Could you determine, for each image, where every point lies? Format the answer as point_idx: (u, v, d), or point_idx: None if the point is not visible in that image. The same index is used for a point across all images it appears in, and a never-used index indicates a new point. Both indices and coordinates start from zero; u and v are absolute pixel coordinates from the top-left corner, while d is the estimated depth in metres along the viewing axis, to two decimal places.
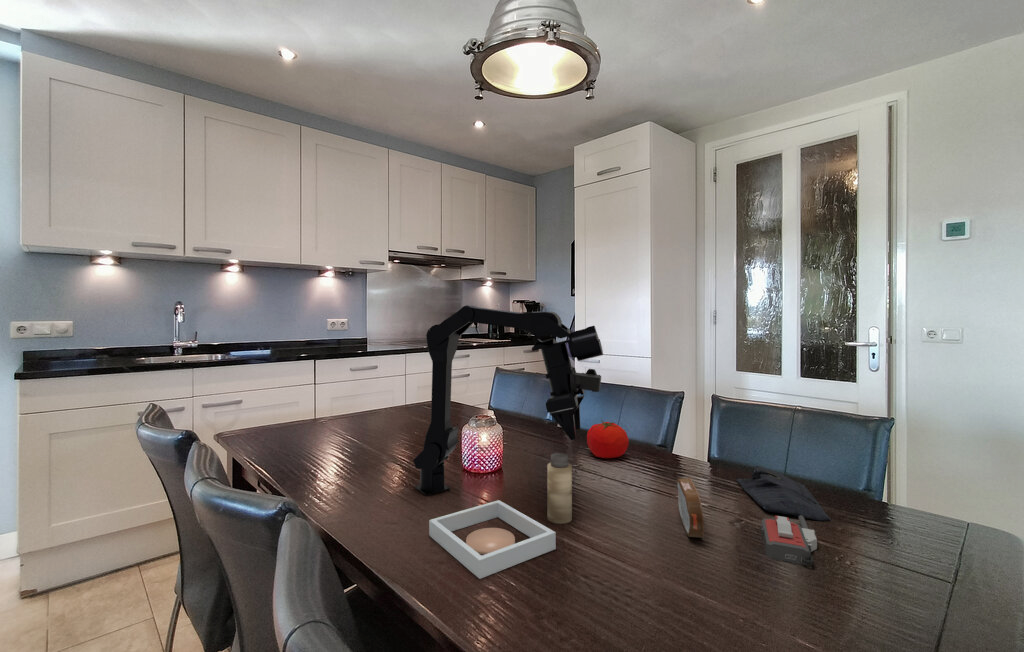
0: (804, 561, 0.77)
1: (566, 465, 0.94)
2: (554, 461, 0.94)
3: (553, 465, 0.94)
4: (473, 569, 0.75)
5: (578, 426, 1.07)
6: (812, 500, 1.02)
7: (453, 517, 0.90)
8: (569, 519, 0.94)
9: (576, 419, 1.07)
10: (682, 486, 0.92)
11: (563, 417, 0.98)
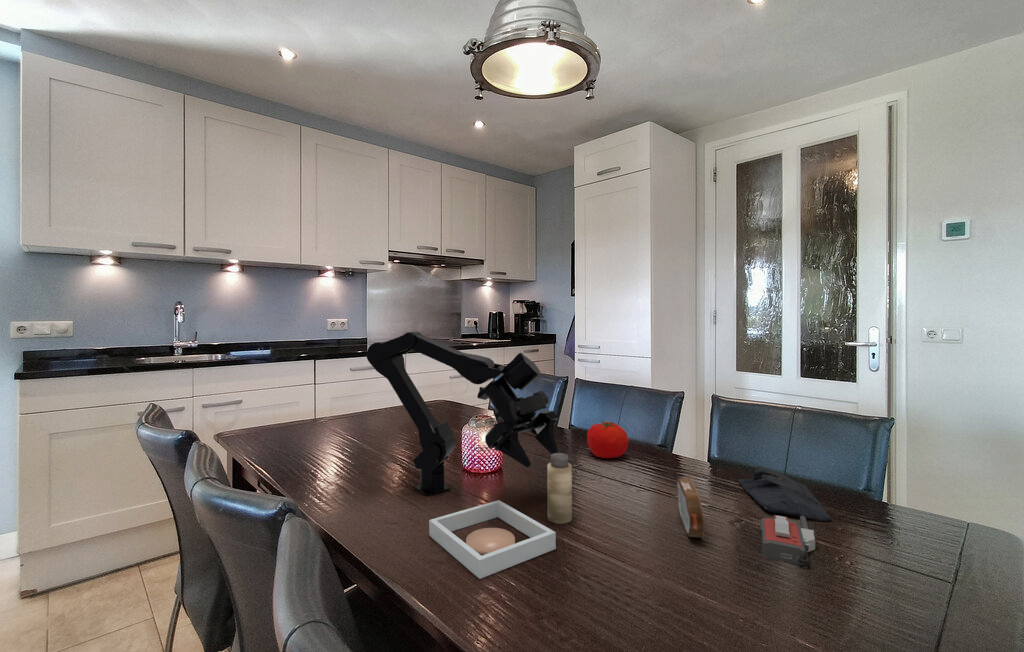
0: (799, 560, 0.77)
1: (566, 465, 0.94)
2: (554, 461, 0.94)
3: (553, 465, 0.94)
4: (473, 569, 0.75)
5: None
6: (813, 500, 1.02)
7: (453, 517, 0.90)
8: (569, 519, 0.94)
9: (551, 446, 1.03)
10: (682, 486, 0.92)
11: (510, 448, 0.97)
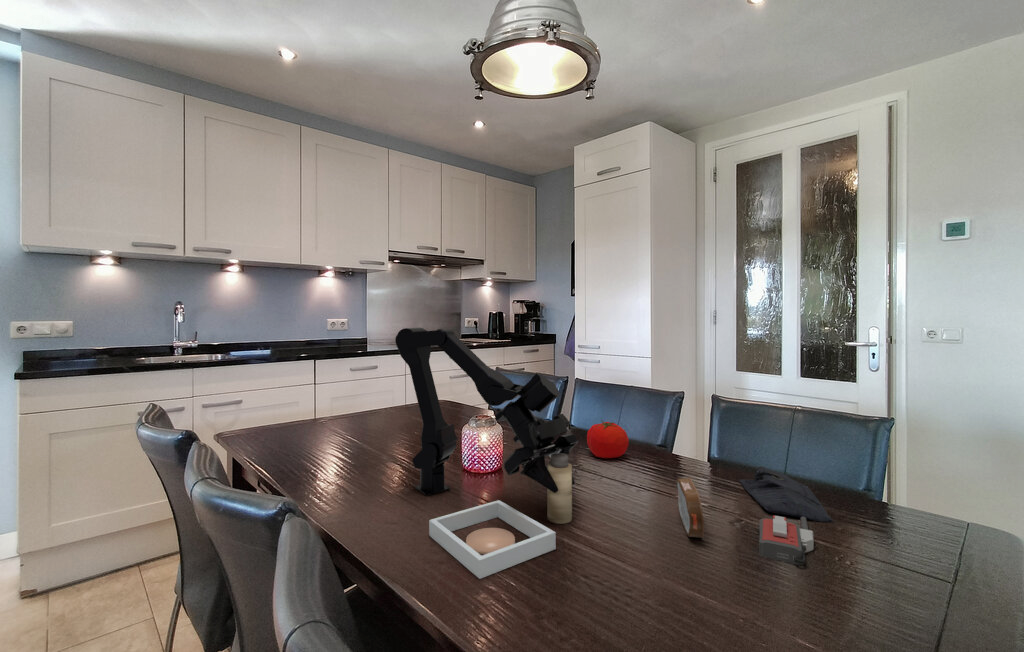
0: (795, 560, 0.77)
1: (566, 465, 0.94)
2: (554, 461, 0.94)
3: (553, 465, 0.94)
4: (473, 569, 0.75)
5: None
6: (815, 501, 1.01)
7: (453, 517, 0.90)
8: (569, 519, 0.94)
9: None
10: (682, 486, 0.92)
11: (537, 472, 0.95)
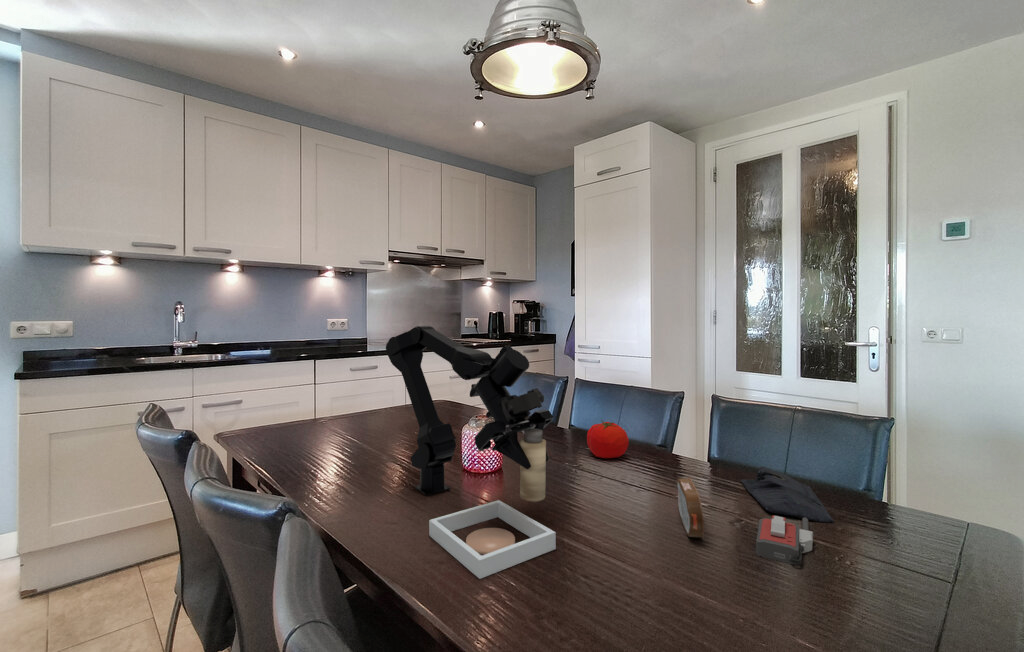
0: (792, 560, 0.77)
1: (540, 440, 0.90)
2: (527, 436, 0.90)
3: (526, 440, 0.90)
4: (473, 569, 0.75)
5: None
6: (816, 502, 1.01)
7: (453, 517, 0.90)
8: (542, 497, 0.90)
9: None
10: (682, 486, 0.92)
11: (509, 448, 0.90)
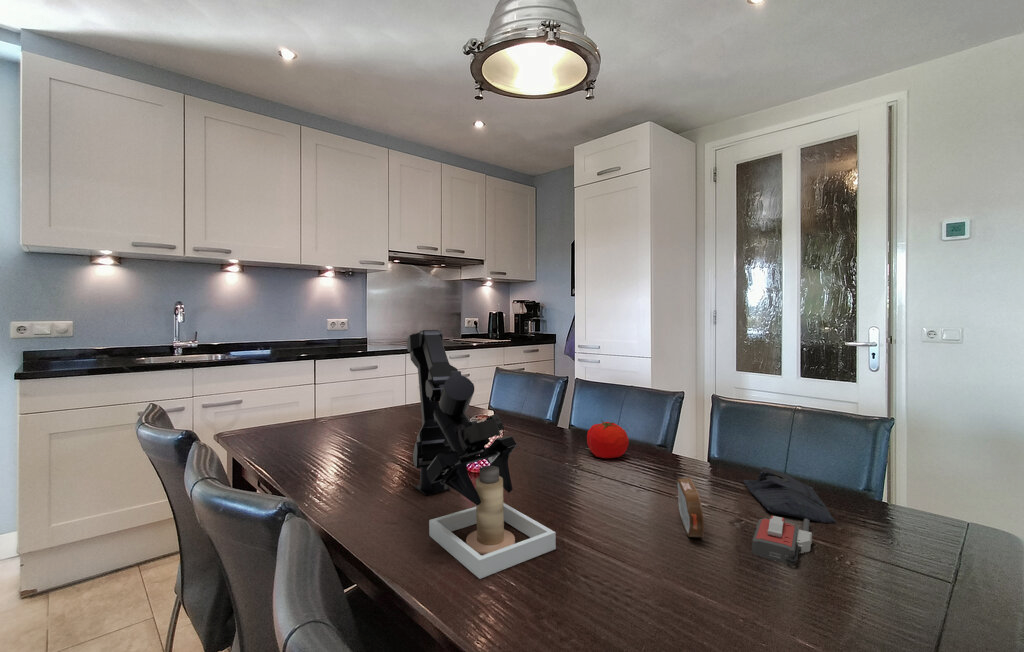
0: (787, 559, 0.77)
1: (496, 480, 0.84)
2: (482, 476, 0.84)
3: (481, 480, 0.84)
4: (473, 569, 0.75)
5: (508, 488, 0.87)
6: (818, 502, 1.01)
7: (453, 517, 0.90)
8: (500, 540, 0.84)
9: (504, 480, 0.88)
10: (682, 486, 0.92)
11: (458, 481, 0.84)
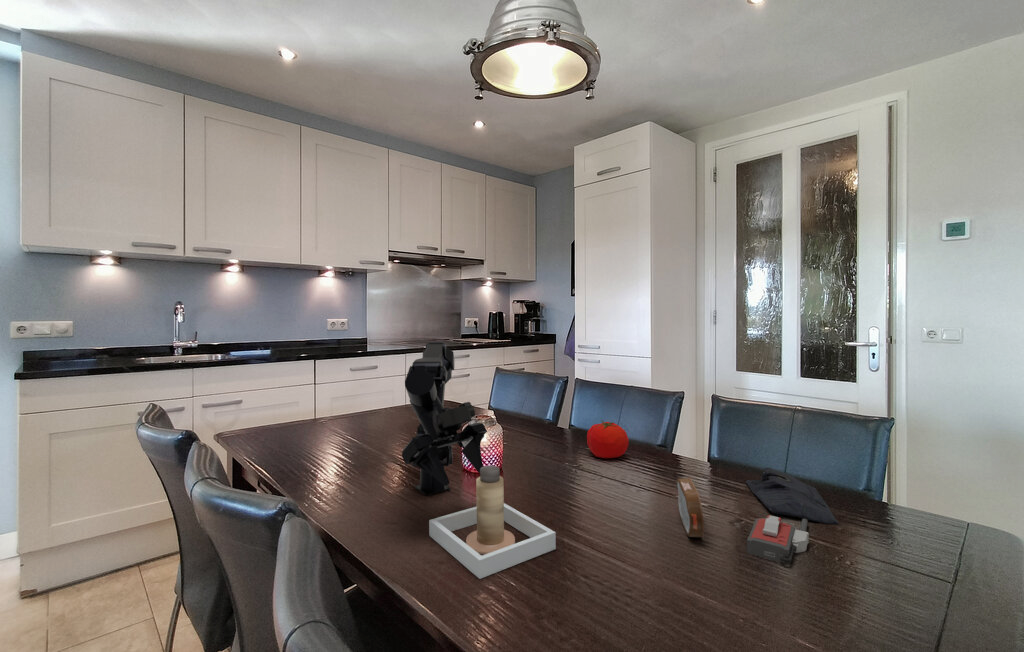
0: (781, 558, 0.78)
1: (496, 479, 0.84)
2: (483, 475, 0.84)
3: (482, 479, 0.84)
4: (473, 569, 0.75)
5: None
6: (821, 503, 1.00)
7: (453, 517, 0.90)
8: (500, 540, 0.84)
9: (476, 462, 0.96)
10: (682, 486, 0.92)
11: (429, 464, 0.90)
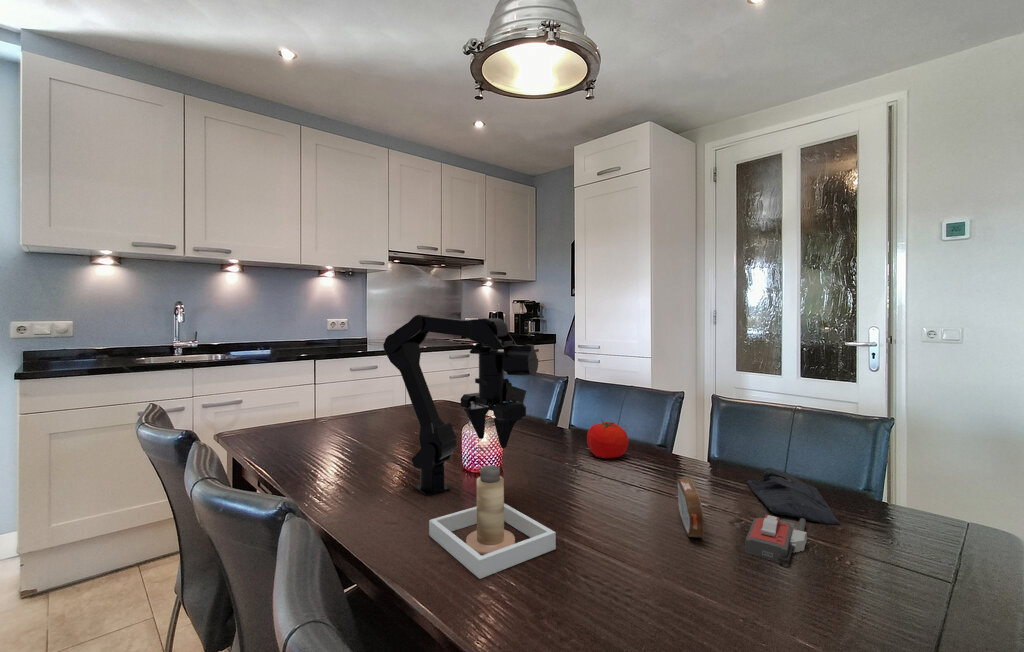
0: (779, 558, 0.78)
1: (496, 479, 0.84)
2: (483, 475, 0.84)
3: (482, 479, 0.84)
4: (473, 569, 0.75)
5: (482, 435, 1.08)
6: (822, 503, 1.00)
7: (453, 517, 0.90)
8: (500, 540, 0.84)
9: (482, 428, 1.08)
10: (682, 486, 0.92)
11: (504, 425, 0.99)
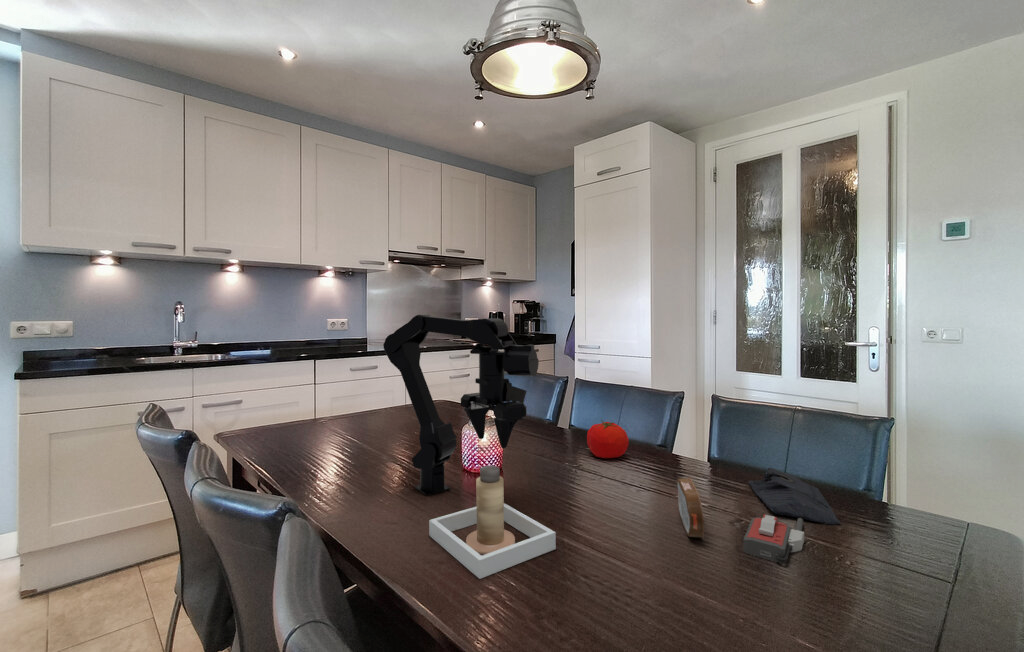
0: (777, 558, 0.78)
1: (496, 479, 0.84)
2: (483, 475, 0.84)
3: (482, 479, 0.84)
4: (473, 569, 0.75)
5: (482, 435, 1.08)
6: (823, 504, 1.00)
7: (453, 517, 0.90)
8: (500, 540, 0.84)
9: (482, 428, 1.09)
10: (682, 486, 0.92)
11: (504, 425, 1.00)
